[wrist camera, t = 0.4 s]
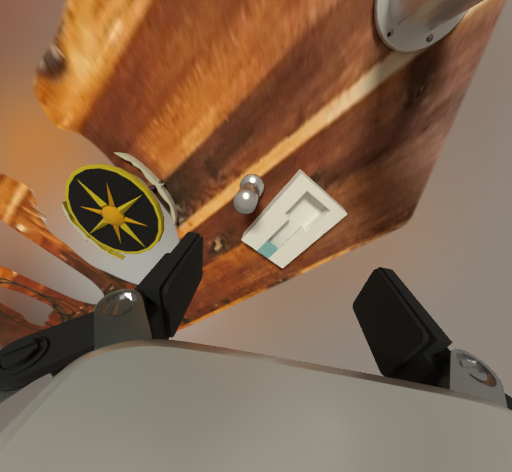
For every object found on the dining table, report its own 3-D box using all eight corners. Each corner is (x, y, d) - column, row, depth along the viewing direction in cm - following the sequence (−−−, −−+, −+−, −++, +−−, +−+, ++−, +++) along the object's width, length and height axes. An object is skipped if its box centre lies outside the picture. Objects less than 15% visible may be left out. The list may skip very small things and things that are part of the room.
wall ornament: (28, 208, 44) (107, 131, 35) (51, 201, 49) (126, 131, 40) (110, 275, 53) (189, 227, 44) (123, 263, 58) (197, 217, 49)
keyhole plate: (299, 169, 39) (301, 173, 36) (342, 207, 42) (347, 214, 39) (243, 232, 48) (241, 240, 45) (282, 259, 52) (282, 268, 49)
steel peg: (250, 168, 40) (241, 182, 31) (269, 184, 41) (265, 201, 33) (236, 187, 43) (224, 205, 34) (254, 201, 44) (248, 222, 35)
